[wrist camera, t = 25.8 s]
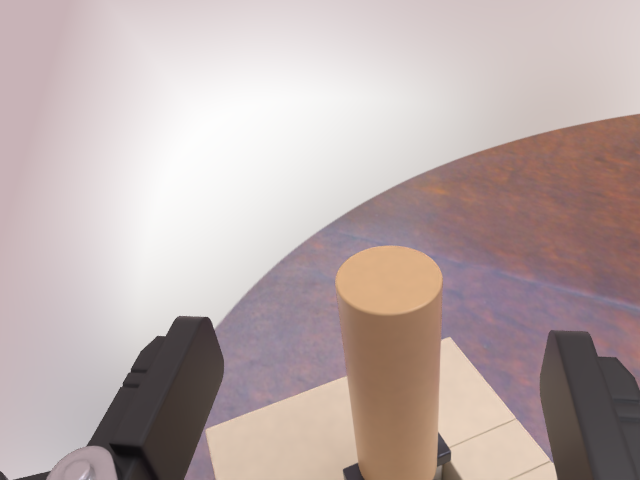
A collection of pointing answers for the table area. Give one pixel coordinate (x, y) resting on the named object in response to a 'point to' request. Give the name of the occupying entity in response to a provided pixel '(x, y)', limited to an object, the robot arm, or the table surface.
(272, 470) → the wooden slotted box
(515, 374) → the table surface
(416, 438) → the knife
